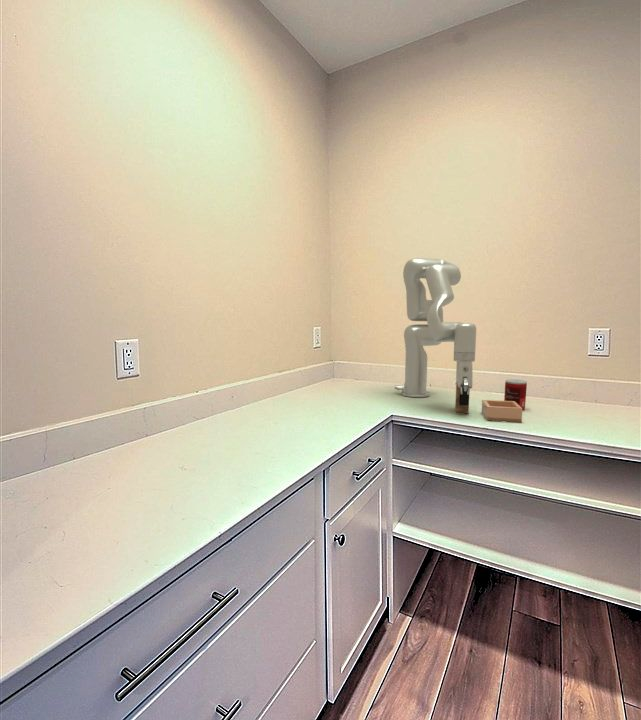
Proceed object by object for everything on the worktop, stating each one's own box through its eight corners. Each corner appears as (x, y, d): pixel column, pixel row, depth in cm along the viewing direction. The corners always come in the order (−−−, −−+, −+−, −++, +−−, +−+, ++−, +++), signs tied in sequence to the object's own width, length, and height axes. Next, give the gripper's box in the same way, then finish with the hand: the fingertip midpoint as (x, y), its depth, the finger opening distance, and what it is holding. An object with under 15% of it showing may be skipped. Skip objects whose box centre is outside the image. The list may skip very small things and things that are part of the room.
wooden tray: (486, 420, 148) (487, 406, 147) (481, 412, 159) (482, 399, 158) (521, 422, 145) (522, 408, 145) (514, 414, 157) (514, 401, 156)
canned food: (520, 406, 170) (522, 379, 168) (528, 411, 162) (530, 382, 160) (500, 405, 170) (502, 378, 169) (507, 410, 162) (509, 382, 161)
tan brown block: (455, 413, 158) (457, 381, 156) (455, 411, 161) (456, 380, 159) (468, 414, 157) (469, 382, 155) (467, 412, 160) (468, 380, 158)
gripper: (478, 359, 147) (476, 408, 149) (471, 354, 164) (470, 398, 166) (455, 359, 149) (454, 407, 151) (451, 354, 165) (450, 397, 167)
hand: (462, 402), depth 158 cm, fingers open, 9 cm apart
